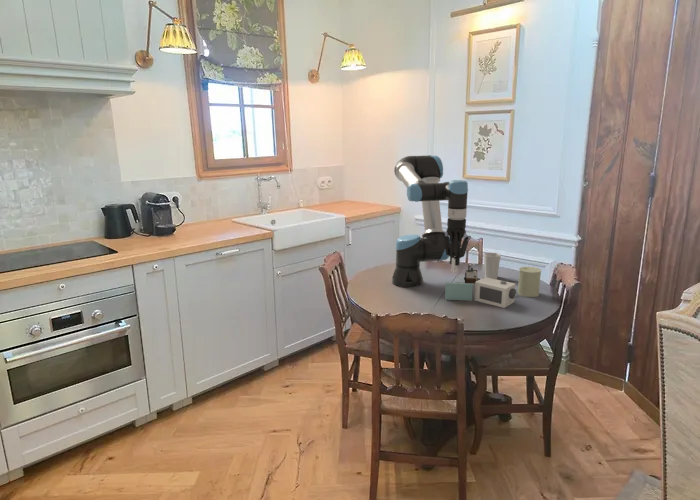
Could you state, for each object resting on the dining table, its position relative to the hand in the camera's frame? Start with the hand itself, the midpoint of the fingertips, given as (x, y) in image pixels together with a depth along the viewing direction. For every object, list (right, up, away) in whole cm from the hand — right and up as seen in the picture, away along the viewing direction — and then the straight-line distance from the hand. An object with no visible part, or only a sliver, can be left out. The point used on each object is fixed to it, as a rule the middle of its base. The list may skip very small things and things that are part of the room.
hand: (454, 271), depth 196 cm
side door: (+4, -12, +6) cm, 14 cm away
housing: (+18, -13, +3) cm, 22 cm away
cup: (+27, -5, +36) cm, 45 cm away
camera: (+14, -9, +22) cm, 27 cm away
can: (+36, -11, +12) cm, 40 cm away
